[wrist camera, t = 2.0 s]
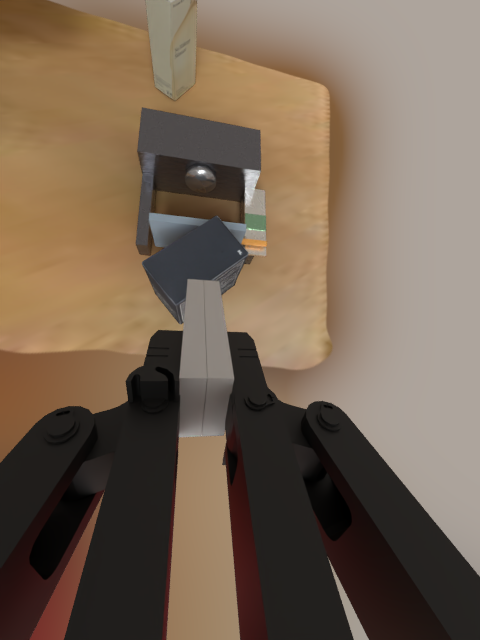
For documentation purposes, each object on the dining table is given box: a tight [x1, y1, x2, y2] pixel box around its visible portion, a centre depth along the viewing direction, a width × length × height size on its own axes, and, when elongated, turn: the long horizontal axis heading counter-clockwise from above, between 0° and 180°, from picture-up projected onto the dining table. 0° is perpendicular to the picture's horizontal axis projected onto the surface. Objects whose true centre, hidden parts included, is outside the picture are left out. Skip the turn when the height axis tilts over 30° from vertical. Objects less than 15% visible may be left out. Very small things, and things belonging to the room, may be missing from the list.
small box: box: [142, 216, 249, 324], centre depth 33 cm, size 11×6×10 cm, turn 130°
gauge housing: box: [136, 108, 266, 264], centre depth 38 cm, size 18×18×7 cm
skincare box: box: [145, 0, 197, 101], centre depth 39 cm, size 6×4×12 cm
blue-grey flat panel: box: [149, 213, 267, 247], centre depth 35 cm, size 1×16×7 cm, turn 89°
